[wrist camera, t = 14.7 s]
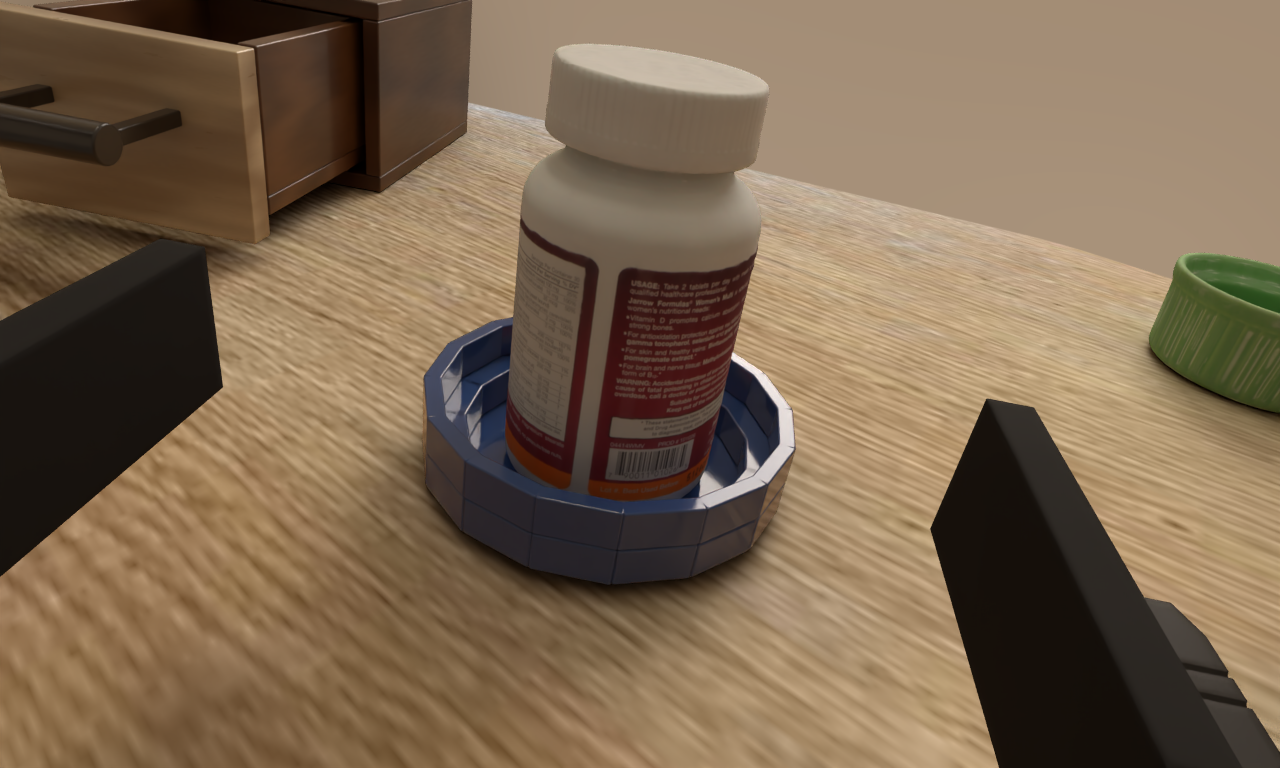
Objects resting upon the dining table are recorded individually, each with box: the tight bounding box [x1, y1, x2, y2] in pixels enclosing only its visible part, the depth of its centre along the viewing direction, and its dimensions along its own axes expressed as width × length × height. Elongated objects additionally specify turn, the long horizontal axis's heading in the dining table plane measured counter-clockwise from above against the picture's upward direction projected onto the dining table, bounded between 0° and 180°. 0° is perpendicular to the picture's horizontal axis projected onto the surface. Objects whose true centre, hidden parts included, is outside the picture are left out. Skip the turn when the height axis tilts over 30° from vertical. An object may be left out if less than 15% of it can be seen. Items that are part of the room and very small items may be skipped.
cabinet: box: [263, 0, 472, 192], centre depth 46 cm, size 15×12×9 cm
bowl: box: [422, 317, 796, 585], centre depth 24 cm, size 11×11×3 cm
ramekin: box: [1149, 253, 1280, 413], centre depth 37 cm, size 9×9×4 cm
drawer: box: [0, 0, 366, 244], centre depth 34 cm, size 18×10×7 cm, turn 173°
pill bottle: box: [505, 44, 769, 502], centre depth 22 cm, size 6×6×11 cm
